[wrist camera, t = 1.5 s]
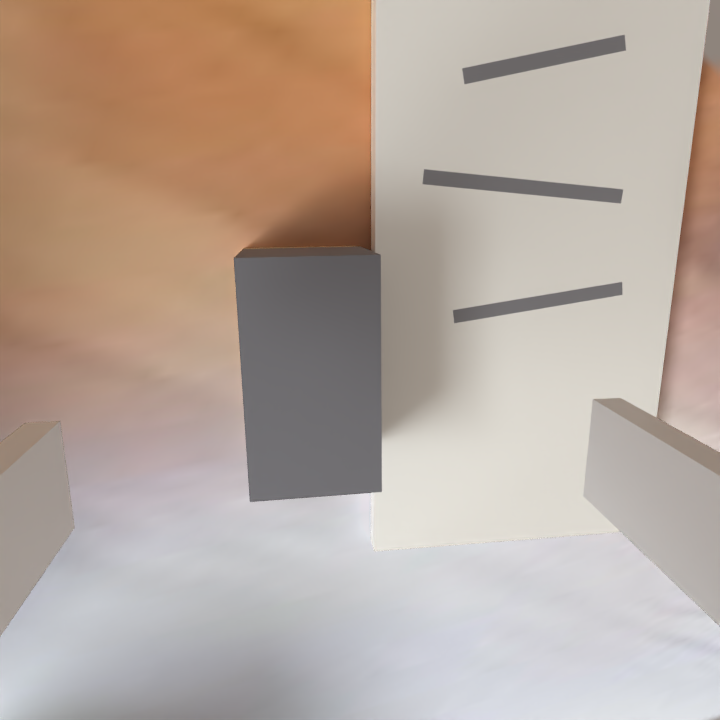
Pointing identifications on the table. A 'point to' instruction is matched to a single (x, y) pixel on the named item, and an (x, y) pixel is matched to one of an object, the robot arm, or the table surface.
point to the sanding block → (310, 370)
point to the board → (520, 248)
